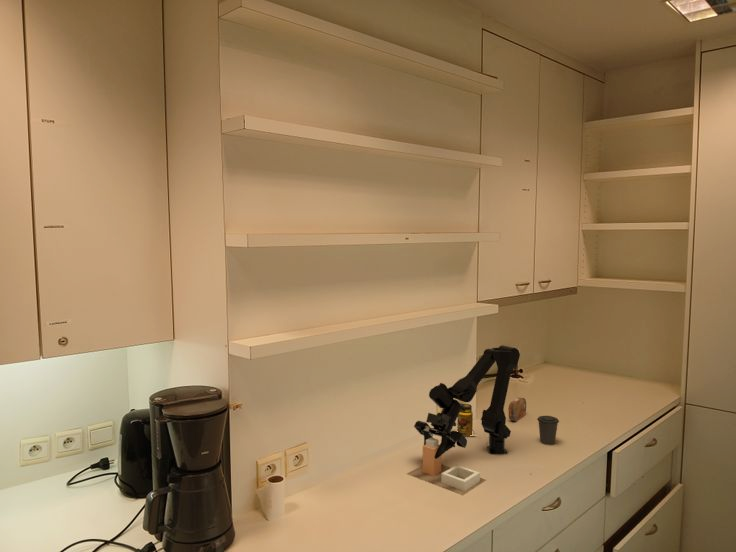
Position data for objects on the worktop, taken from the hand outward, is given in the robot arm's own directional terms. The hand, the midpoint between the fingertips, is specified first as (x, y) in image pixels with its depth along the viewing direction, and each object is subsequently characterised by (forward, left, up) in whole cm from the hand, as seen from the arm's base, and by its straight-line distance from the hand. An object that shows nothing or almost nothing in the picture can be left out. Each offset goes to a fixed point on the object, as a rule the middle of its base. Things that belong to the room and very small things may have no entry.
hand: (429, 456), depth 179 cm
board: (+3, +5, -7) cm, 9 cm away
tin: (-55, +47, -7) cm, 73 cm away
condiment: (-38, +20, -7) cm, 44 cm away
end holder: (+7, +9, -6) cm, 13 cm away
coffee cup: (-27, +50, -7) cm, 58 cm away
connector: (-1, +1, -6) cm, 6 cm away
